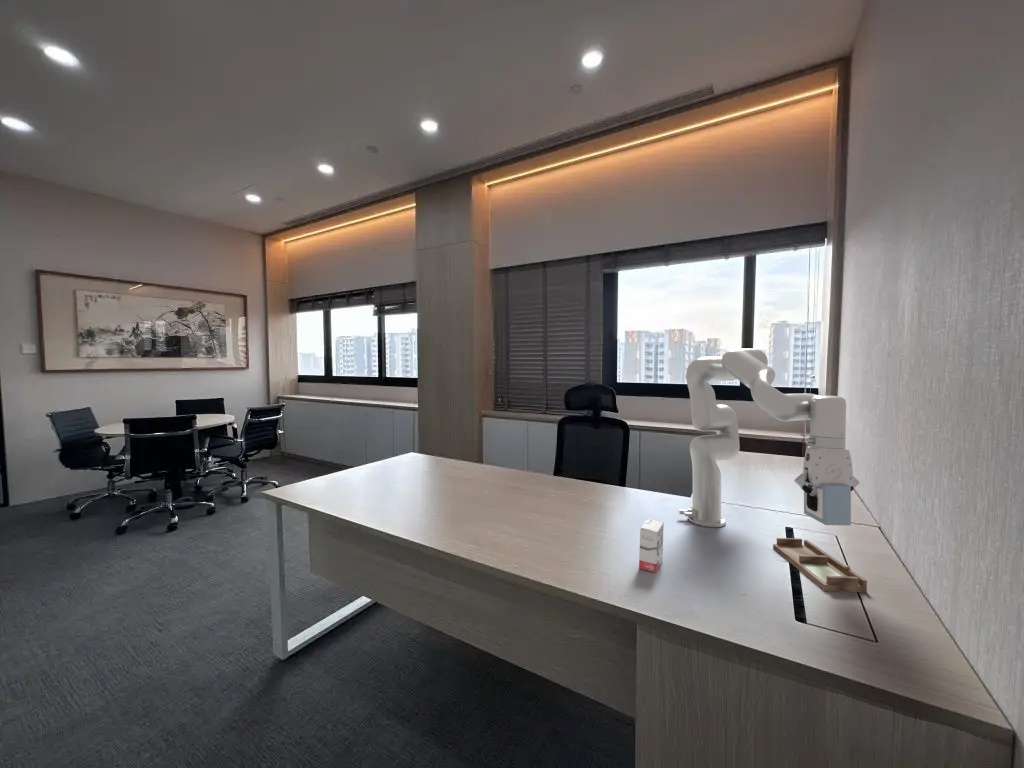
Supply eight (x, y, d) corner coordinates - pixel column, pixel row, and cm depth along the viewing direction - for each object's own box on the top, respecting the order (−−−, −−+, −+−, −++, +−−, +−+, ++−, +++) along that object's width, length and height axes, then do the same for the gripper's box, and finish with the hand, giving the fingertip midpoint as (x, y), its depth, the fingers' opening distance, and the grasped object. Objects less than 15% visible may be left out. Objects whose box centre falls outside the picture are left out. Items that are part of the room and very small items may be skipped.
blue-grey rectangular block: (825, 525, 106) (825, 486, 105) (803, 513, 115) (803, 477, 114) (850, 525, 105) (850, 486, 105) (826, 513, 114) (827, 477, 114)
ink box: (657, 573, 114) (657, 531, 114) (638, 569, 117) (638, 527, 116) (663, 560, 122) (664, 521, 121) (646, 556, 124) (646, 517, 124)
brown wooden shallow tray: (824, 590, 105) (824, 576, 104) (773, 548, 128) (773, 537, 128) (867, 592, 104) (867, 578, 104) (807, 549, 128) (807, 538, 127)
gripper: (801, 445, 106) (800, 514, 107) (873, 445, 105) (871, 515, 105) (784, 440, 114) (783, 504, 114) (851, 440, 112) (850, 505, 113)
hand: (825, 509), depth 110 cm, fingers closed on blue-grey rectangular block, 6 cm apart
